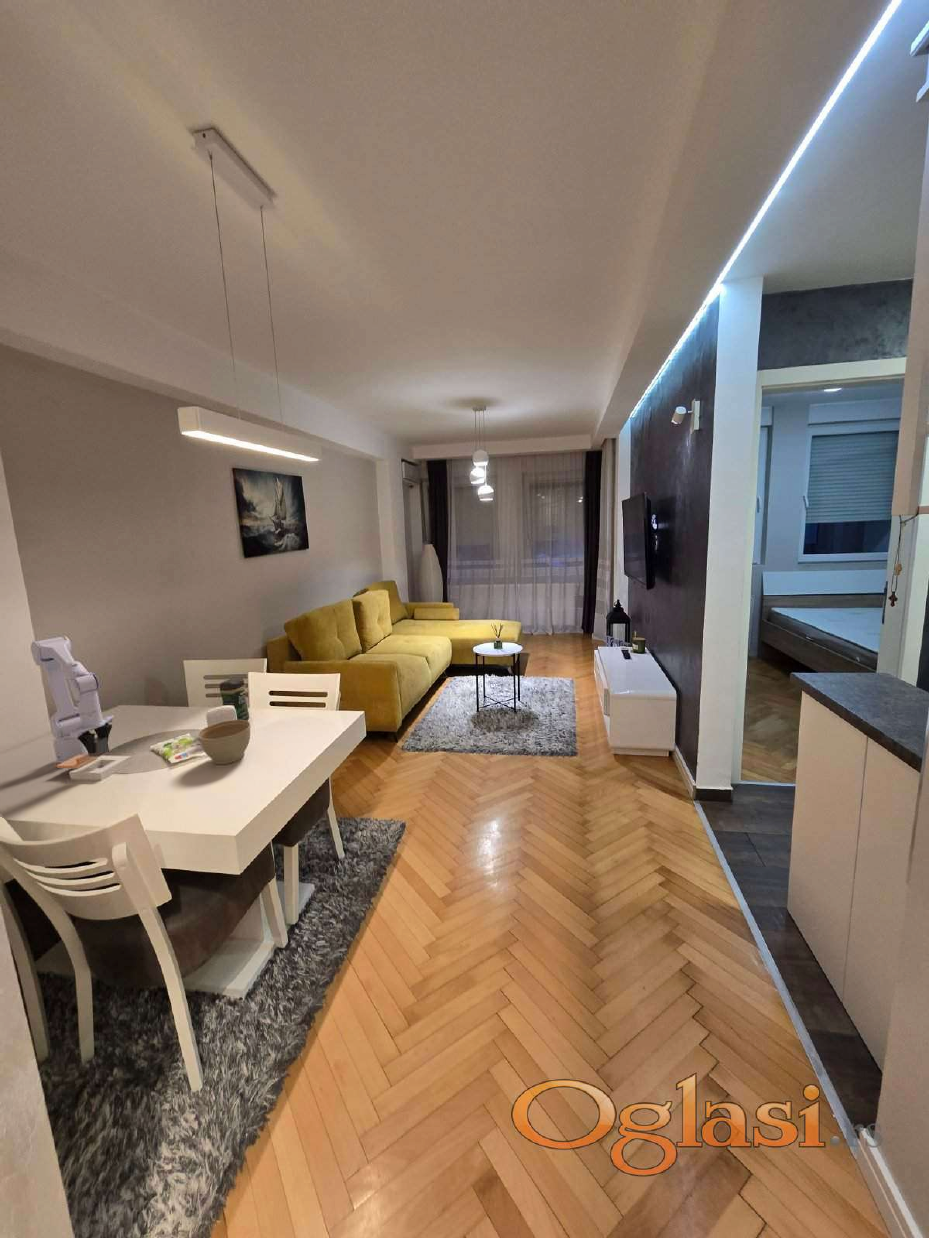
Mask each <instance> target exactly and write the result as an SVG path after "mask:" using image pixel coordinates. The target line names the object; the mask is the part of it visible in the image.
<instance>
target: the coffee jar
mask: <svg viewBox="0 0 929 1238" xmlns="http://www.w3.org/2000/svg"><path fill="white" fill-rule="evenodd" d="M245 689H246V686H245V680H244V678H243V677H242V676H240V677H239V676H233V677H231V678H229V679H227V680H224V681H223V682H221V683H219V692H220V695H221V699H222V706H226V705H231V706H234V708H235V710H236V715H237V720H245V721H249V719H250V713H249V708H248V705H247V700H246V699H247V698H246V695H245V694H246V692H245Z"/></svg>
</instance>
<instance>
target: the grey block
mask: <svg viewBox="0 0 929 1238" xmlns="http://www.w3.org/2000/svg"><path fill="white" fill-rule="evenodd" d="M94 744H95V753H88V755H89V757H100V756H104V755H105V754H107V753H109V752H110V748H109V747H110V746H109V741H108V742H107V737H96V736H95V738H94Z"/></svg>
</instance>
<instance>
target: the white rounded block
mask: <svg viewBox="0 0 929 1238" xmlns="http://www.w3.org/2000/svg"><path fill="white" fill-rule="evenodd" d="M205 716H206V723H207V727H208V726H211V725H213V724H216V723H220V722H224V721H229V720H237V715H236V710H235V708H234V706H231V705H226V706H223V705H220V706H217V707H213V708H210V709H209V710H207V712H206V715H205Z"/></svg>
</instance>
